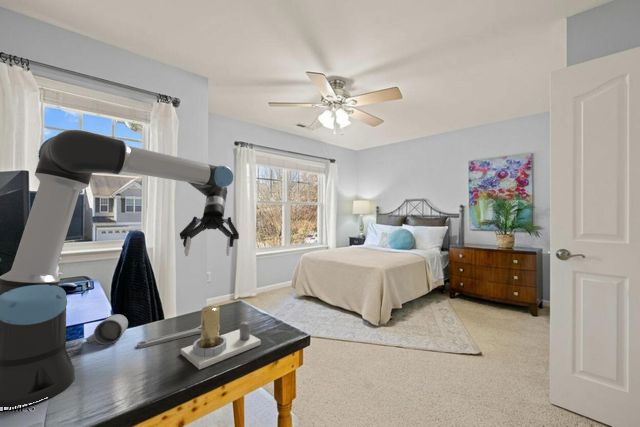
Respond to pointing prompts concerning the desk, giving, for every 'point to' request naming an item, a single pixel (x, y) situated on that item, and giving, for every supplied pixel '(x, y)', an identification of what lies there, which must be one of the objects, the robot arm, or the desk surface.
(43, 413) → the desk surface
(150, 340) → the adjustable wrench
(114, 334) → the ceramic mug
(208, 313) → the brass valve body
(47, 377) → the robot arm
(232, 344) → the board
